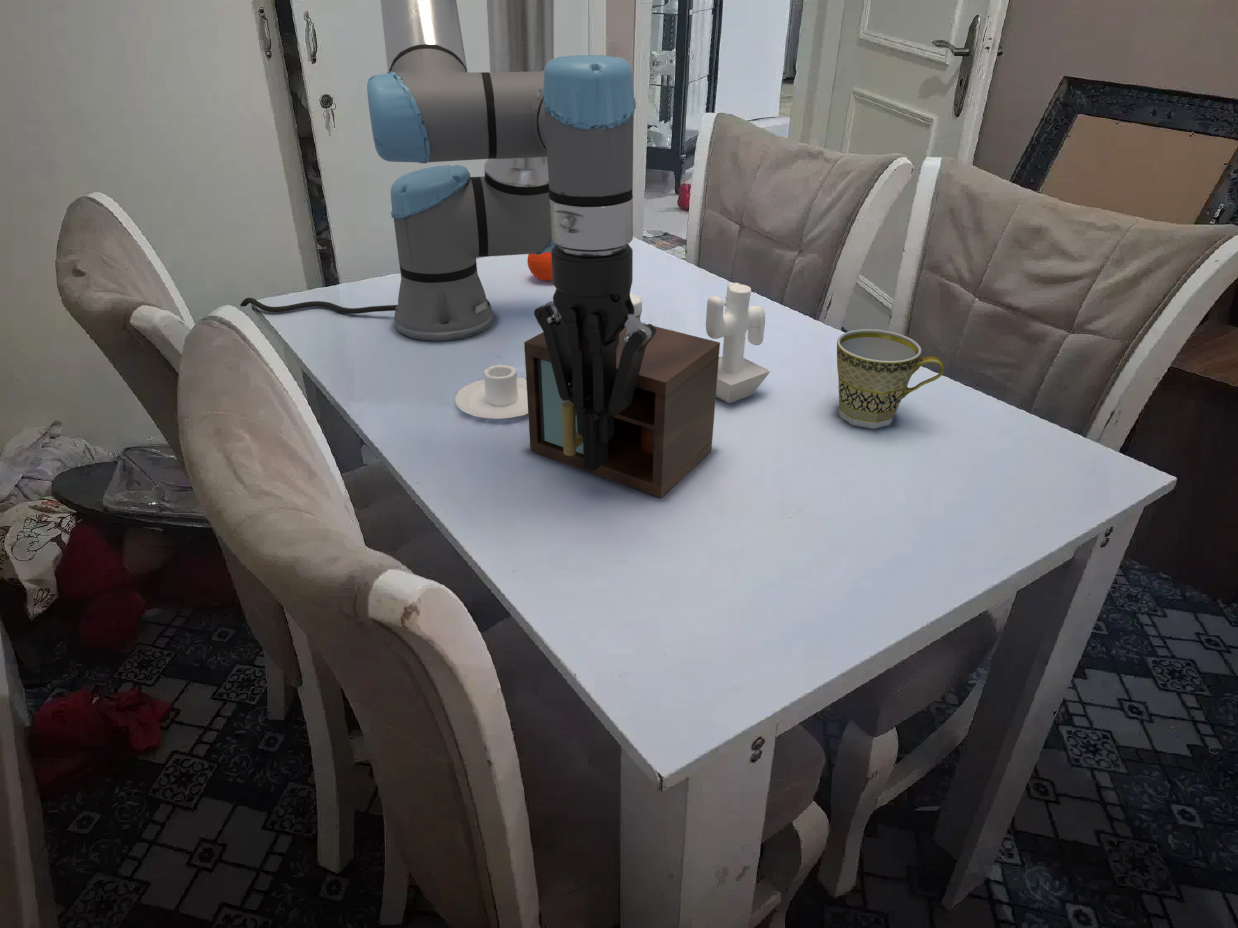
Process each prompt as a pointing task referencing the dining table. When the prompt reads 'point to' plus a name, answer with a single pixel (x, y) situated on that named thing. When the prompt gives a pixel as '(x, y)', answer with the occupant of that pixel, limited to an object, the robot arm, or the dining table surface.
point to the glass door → (557, 413)
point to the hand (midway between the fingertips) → (596, 463)
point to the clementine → (541, 266)
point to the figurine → (736, 342)
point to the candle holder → (495, 395)
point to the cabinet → (647, 412)
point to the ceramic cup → (876, 375)
